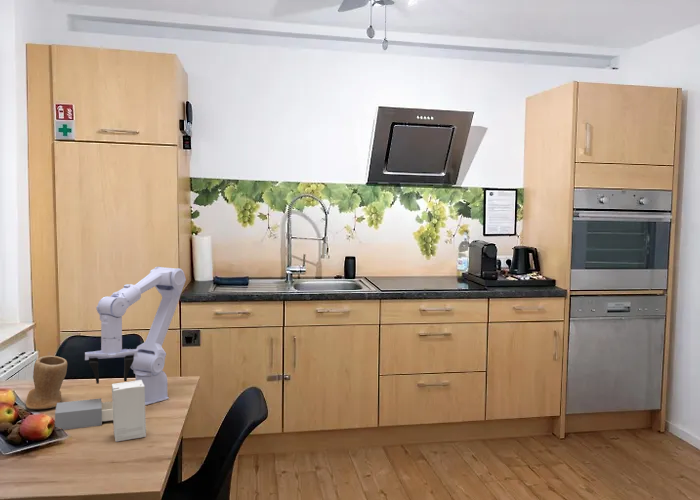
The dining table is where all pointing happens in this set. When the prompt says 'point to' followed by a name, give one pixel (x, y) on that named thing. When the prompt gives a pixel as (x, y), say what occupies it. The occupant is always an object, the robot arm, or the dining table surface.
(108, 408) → the white pull-out drawer
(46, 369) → the stone cup
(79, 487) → the dining table surface
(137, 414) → the skincare box
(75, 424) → the carton
